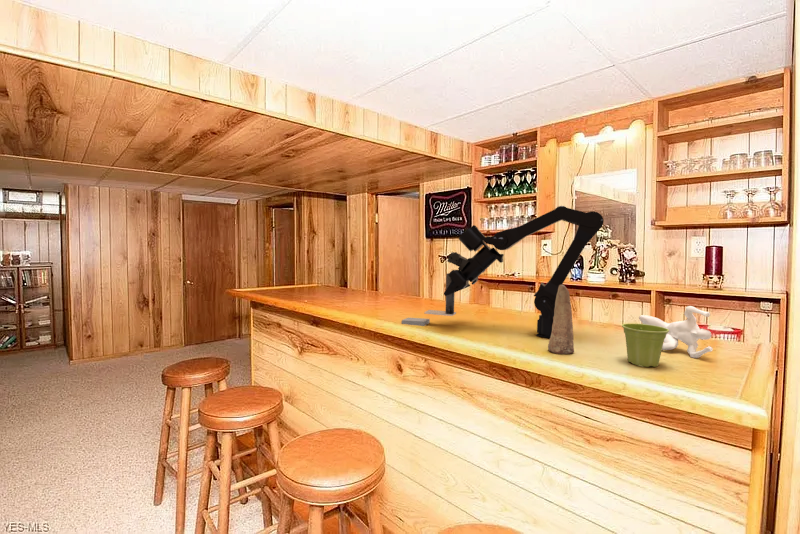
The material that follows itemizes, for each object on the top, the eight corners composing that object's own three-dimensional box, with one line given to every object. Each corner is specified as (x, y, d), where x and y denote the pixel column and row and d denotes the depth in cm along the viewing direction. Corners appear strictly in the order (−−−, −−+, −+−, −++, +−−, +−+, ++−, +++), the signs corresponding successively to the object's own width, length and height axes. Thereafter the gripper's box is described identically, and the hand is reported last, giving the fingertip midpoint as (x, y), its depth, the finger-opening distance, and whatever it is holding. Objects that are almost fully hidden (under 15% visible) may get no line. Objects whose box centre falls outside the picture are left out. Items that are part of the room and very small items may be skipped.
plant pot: (624, 355, 100) (625, 321, 99) (669, 363, 94) (671, 327, 93) (616, 363, 92) (618, 327, 92) (664, 372, 86) (666, 333, 86)
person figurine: (626, 307, 109) (708, 303, 96) (638, 312, 117) (715, 309, 105) (630, 356, 106) (715, 358, 93) (642, 357, 115) (722, 359, 102)
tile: (429, 318, 137) (408, 317, 140) (423, 321, 131) (401, 320, 134) (429, 323, 137) (408, 322, 140) (423, 326, 131) (401, 325, 134)
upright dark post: (456, 313, 133) (457, 273, 132) (452, 316, 128) (453, 274, 127) (429, 311, 136) (429, 272, 135) (424, 313, 132) (425, 273, 131)
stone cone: (543, 353, 103) (565, 359, 98) (541, 286, 100) (564, 289, 95) (557, 346, 107) (579, 352, 102) (556, 281, 104) (578, 284, 99)
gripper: (469, 244, 136) (438, 274, 141) (455, 243, 119) (420, 278, 124) (492, 267, 134) (459, 297, 139) (481, 271, 117) (444, 305, 122)
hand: (446, 294), depth 131 cm, fingers closed on upright dark post, 3 cm apart
